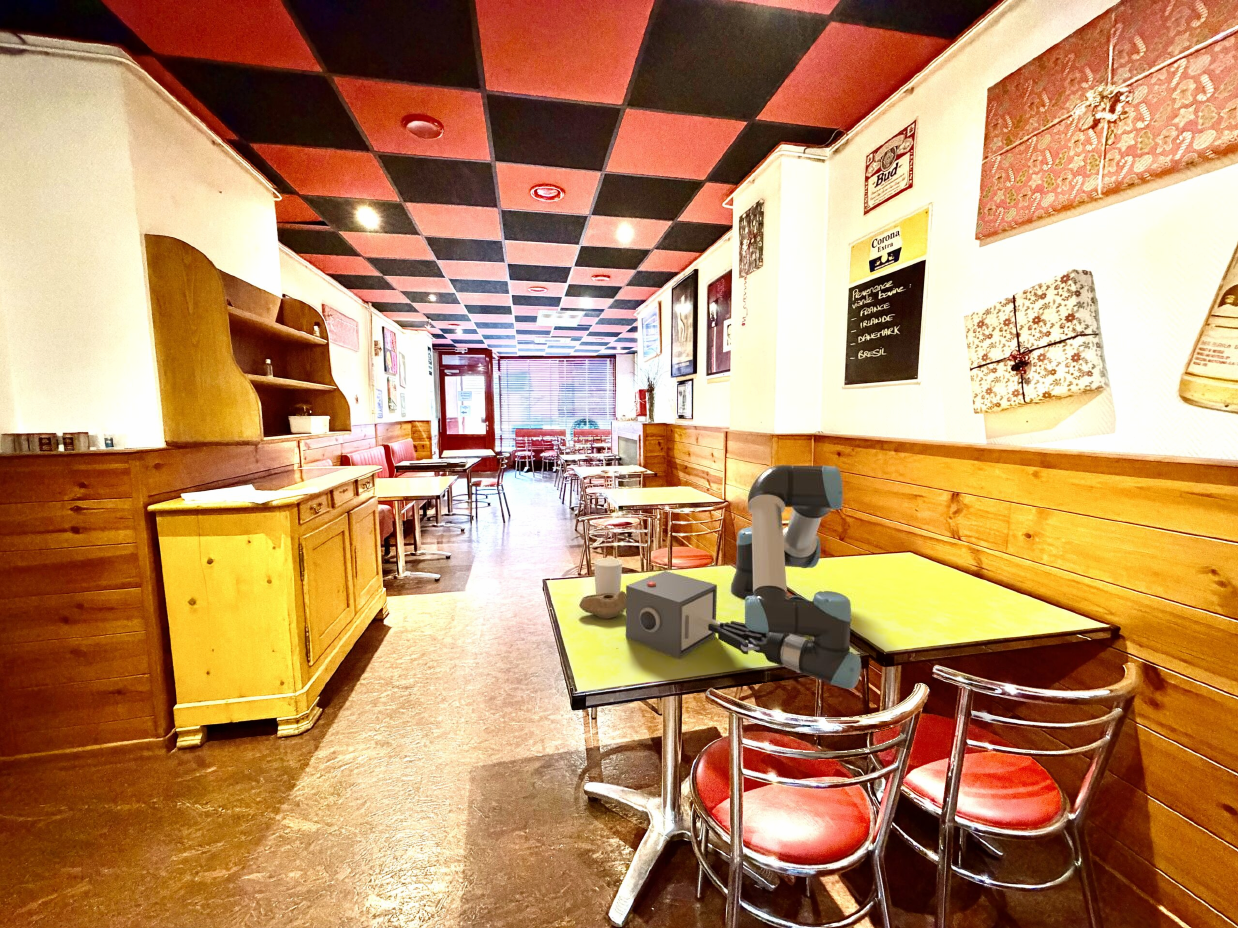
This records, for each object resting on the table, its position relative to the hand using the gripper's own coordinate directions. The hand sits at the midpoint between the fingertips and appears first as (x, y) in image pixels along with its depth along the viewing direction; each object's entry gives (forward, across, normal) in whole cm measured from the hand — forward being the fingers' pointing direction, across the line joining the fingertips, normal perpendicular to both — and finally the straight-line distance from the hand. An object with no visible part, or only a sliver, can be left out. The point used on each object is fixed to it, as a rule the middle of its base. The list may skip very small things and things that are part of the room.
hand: (700, 621), depth 128 cm
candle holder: (+45, +11, -8) cm, 47 cm away
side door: (+1, 0, -6) cm, 6 cm away
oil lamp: (+34, -2, -8) cm, 35 cm away
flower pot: (-15, +27, -8) cm, 32 cm away
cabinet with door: (+10, 0, -7) cm, 12 cm away
